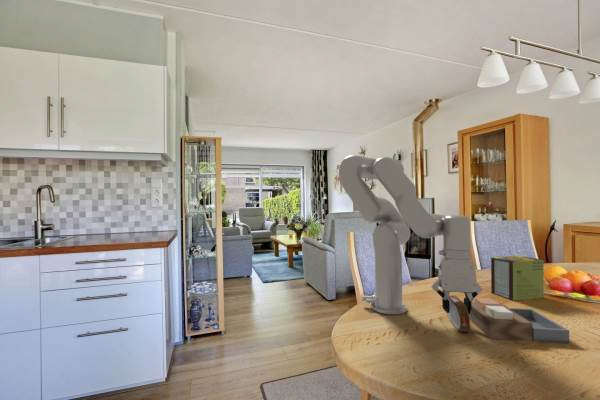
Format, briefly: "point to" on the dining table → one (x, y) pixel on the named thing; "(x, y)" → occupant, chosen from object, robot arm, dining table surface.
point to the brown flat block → (501, 325)
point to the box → (543, 327)
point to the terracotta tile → (485, 303)
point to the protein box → (517, 277)
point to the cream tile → (499, 312)
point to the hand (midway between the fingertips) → (456, 311)
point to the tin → (458, 314)
